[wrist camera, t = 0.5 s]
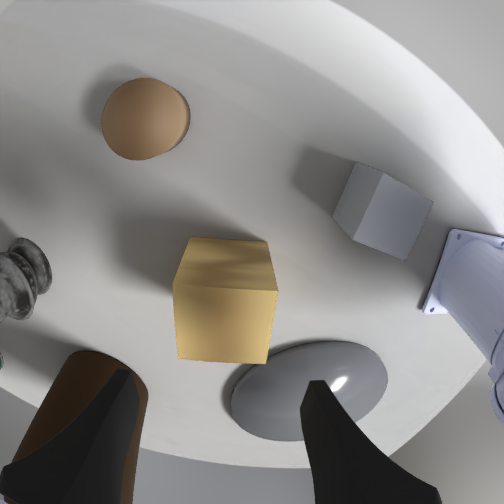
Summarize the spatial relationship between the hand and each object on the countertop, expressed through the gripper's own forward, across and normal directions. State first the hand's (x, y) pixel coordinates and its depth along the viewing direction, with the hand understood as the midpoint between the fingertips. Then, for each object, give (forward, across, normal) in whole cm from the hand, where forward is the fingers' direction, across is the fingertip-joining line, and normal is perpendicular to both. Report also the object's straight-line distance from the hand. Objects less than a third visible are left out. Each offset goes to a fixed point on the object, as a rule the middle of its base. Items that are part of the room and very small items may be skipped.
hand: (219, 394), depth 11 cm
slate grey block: (+10, -9, -6) cm, 15 cm away
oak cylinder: (+10, +5, -10) cm, 15 cm away
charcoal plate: (+10, -9, +14) cm, 20 cm away
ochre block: (+10, 0, 0) cm, 10 cm away
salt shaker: (+10, +17, +1) cm, 20 cm away
